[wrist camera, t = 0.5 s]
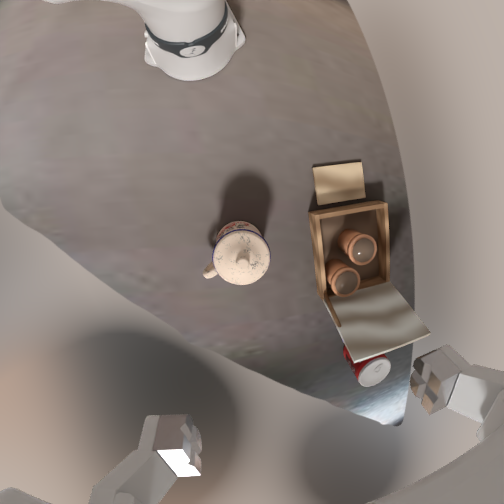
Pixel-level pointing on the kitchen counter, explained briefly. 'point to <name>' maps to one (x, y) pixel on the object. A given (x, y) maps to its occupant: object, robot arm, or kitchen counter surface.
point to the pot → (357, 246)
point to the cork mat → (339, 183)
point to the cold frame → (363, 283)
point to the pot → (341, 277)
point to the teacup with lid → (239, 254)
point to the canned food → (369, 368)
